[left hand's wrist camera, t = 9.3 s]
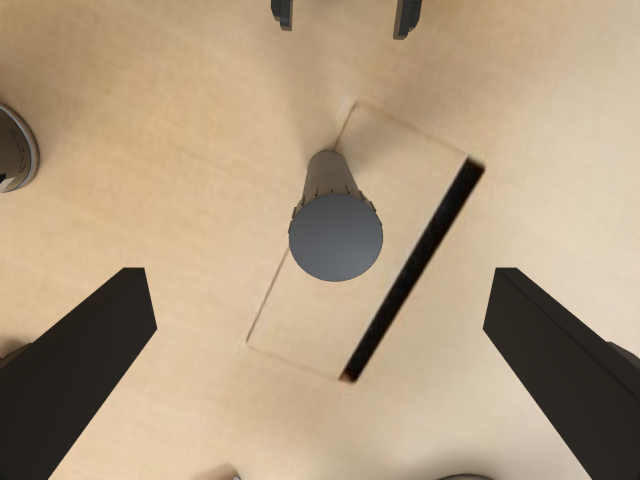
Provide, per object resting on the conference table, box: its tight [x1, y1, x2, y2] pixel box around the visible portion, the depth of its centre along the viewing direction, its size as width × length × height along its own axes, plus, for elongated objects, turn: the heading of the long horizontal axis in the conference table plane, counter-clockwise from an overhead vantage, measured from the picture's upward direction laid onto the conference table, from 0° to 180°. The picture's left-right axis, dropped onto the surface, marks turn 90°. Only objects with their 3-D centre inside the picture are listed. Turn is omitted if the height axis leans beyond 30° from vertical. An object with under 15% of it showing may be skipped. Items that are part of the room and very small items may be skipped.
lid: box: [288, 183, 383, 282], centre depth 18 cm, size 5×5×2 cm
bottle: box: [302, 150, 359, 196], centre depth 26 cm, size 4×4×20 cm
